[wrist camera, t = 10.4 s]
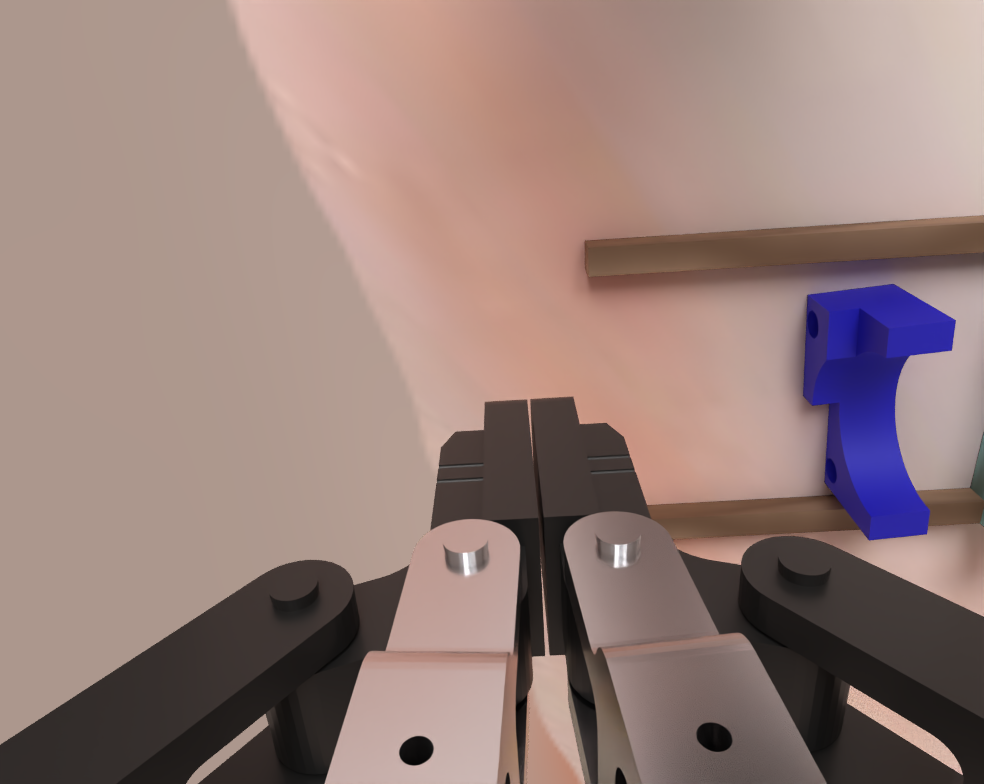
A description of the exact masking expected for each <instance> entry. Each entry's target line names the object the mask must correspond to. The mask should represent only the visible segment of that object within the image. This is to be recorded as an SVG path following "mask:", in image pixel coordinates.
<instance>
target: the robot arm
mask: <svg viewBox="0 0 984 784" xmlns="http://www.w3.org/2000/svg"><path fill="white" fill-rule="evenodd" d="M531 425H532V445H533V456H532V446H531V436H530V425H529V415H528V405H527V400H510V401H493V402H485V416H484V430H478V431H461V432H455V433H454V434H453V435H452V436H451V437H450V438H449V440H448V441H447V442H446V443H445V444H444V445H443V446H442V447H441V453H440V460H439V469H438V476H437V484H436V491H435V499H434V507H433V514H432V522H431V530H430V531H429V532H428V533H426V534H425V535H424V536H423V537H422V538H421V539H420V540H419V541H418V543H417V544H416V546H415V548H414V551H413V554H412V558H411V561H410V564H409V565H408V566H407V567H405V568H403V569H401V570H400V571H397V572H395V573H393V574H391V575H388V576H385V577H382V578H379V579H375V580H371V581H367V582H364V583H361V584H357V585H353V580H352V578H351V576H350V574H349V573H348V572H347V571H346V570H345V569H344V568H342V567H341V566H339V565H337V564H334V563H332V562H327V561H322V560H304V561H297V562H293V563H288V564H285V565H282V566H279V567H277V568H274V569H272V570H270V571H268V572H266V573H265V574H263V575H261V576H260V577H258V578H257V579H255V580H253V581H252V582H251V583H249V584H247V585H246V586H244V587H243V588H241V589H240V590H238V591H236V592H235V593H234V594H232V595H230V596H229V597H227V598H226V599H224V600H223V601H221V602H220V603H218V604H216V605H215V606H213V607H212V608H210V609H209V610H207V611H206V612H204V613H203V614H201V615H200V616H198V617H196V618H195V619H193V620H192V621H190V622H189V623H187V624H186V625H184V626H183V627H181V628H180V629H178V630H177V631H175V632H173V633H172V634H170V635H169V636H167V637H166V638H164V639H163V640H161V641H160V642H158V643H156V644H155V645H153V646H152V647H150V648H149V649H147V650H146V651H144V652H142V653H141V654H139V655H138V656H136V657H135V658H133V659H132V660H130V661H129V662H127V663H126V664H124V665H122V666H121V667H119V668H118V669H116V670H115V671H113V672H112V673H110V674H109V675H107V676H105V677H104V678H102V679H101V680H99V681H98V682H96V683H95V684H93V685H92V686H90V687H89V688H87V689H85V690H84V691H82V692H81V693H79V694H78V695H76V696H75V697H73V698H72V699H70V700H69V701H67V702H66V703H64V704H62V705H61V706H59V707H58V708H56V709H55V710H53V711H52V712H50V713H49V714H47V715H45V716H44V717H42V718H41V719H39V720H38V721H36V722H35V723H33V724H32V725H30V726H28V727H27V728H25V729H24V730H22V731H21V732H19V733H18V734H16V735H15V736H13V737H12V738H10V739H8V740H7V741H5V742H4V743H2V744H1V745H0V784H186V783H187V781H188V780H189V778H190V777H191V776H192V774H193V773H194V772H195V771H196V770H197V769H198V768H199V767H200V766H201V765H202V764H203V763H205V762H206V761H207V760H208V759H209V758H211V757H212V756H213V755H214V754H216V753H217V752H218V751H219V750H221V749H222V748H223V747H224V746H226V745H227V744H228V743H229V742H231V741H232V740H233V739H234V738H236V737H237V736H238V735H239V734H240V733H242V732H243V731H244V730H245V729H247V728H248V727H249V726H250V725H252V724H253V723H254V722H255V721H256V720H258V719H259V718H260V717H261V716H263V715H264V714H265V713H266V717H267V720H268V724H269V726H267V727H266V728H265V729H264V730H263V731H262V732H260V733H259V734H258V735H257V736H255V737H254V738H253V739H252V740H251V741H249V742H248V743H247V744H246V745H244V746H243V747H242V748H241V749H240V750H238V751H237V752H236V753H235V754H234V755H232V756H231V757H230V758H229V759H227V760H226V761H225V762H224V763H223V764H221V765H220V766H219V767H218V768H216V770H214V771H213V772H212V773H210V774H209V775H208V776H207V777H206V778H204V779H203V780H202V781H201V782H200V783H198V784H527V768H528V740H529V714H530V712H529V710H530V703H529V690H530V688H531V685H532V681H533V669H532V657H533V656H545V645H544V623H543V602H542V581H541V568H542V578H543V589H544V599H545V610H546V621H547V631H548V642H549V652H550V655H565V656H566V664H567V675H568V702H569V708H570V713H571V718H572V723H573V727H574V732H575V737H576V742H577V746H578V751H579V756H580V761H581V765H582V770H583V775H584V780H585V784H984V617H983V616H981V615H979V614H977V613H974V612H972V611H970V610H968V609H966V608H964V607H962V606H960V605H957V604H955V603H953V602H951V601H949V600H947V599H945V598H943V597H940V596H938V595H936V594H934V593H932V592H930V591H928V590H926V589H923V588H921V587H919V586H917V585H915V584H913V583H911V582H909V581H906V580H904V579H902V578H900V577H898V576H896V575H894V574H891V573H889V572H887V571H885V570H883V569H881V568H879V567H877V566H874V565H872V564H870V563H868V562H866V561H864V560H862V559H860V558H857V557H855V556H853V555H851V554H849V553H847V552H845V551H843V550H840V549H838V548H836V547H834V546H831V545H829V544H827V543H824V542H821V541H817V540H814V539H809V538H804V537H795V536H781V537H772V538H768V539H764V540H761V541H759V542H757V543H755V544H753V545H752V546H750V547H749V548H748V549H747V550H746V552H745V553H744V555H743V558H742V561H741V565H738V564H731V563H725V562H719V561H712V560H707V559H703V558H699V557H695V556H692V555H689V554H687V553H684V552H682V551H680V550H678V549H677V548H676V546H675V544H674V542H673V540H672V538H671V536H670V534H669V533H668V531H667V530H666V529H665V528H664V527H663V526H661V525H660V524H659V523H657V522H655V521H654V520H652V519H651V516H650V513H649V510H648V507H647V504H646V501H645V499H644V496H643V493H642V490H641V487H640V484H639V481H638V478H637V475H636V472H635V471H634V466H633V463H632V460H631V458H630V454H629V451H628V448H627V445H626V442H625V439H624V437H623V436H622V435H621V434H619V433H618V432H617V431H616V430H614V429H613V428H612V427H611V426H609V425H608V424H607V423H597V424H579V420H578V415H577V411H576V407H575V402H574V398H573V397H559V398H542V399H531ZM540 557H541V559H540ZM850 685H851V686H853V687H854V688H856V689H858V690H859V691H861V692H863V693H864V694H866V695H868V696H869V697H871V698H873V699H874V700H876V701H877V702H879V703H881V704H882V705H884V706H886V707H887V708H889V709H891V710H892V711H894V712H896V713H897V714H899V715H901V716H902V717H904V718H906V719H907V720H909V721H911V722H912V723H914V724H916V725H917V726H919V727H921V728H922V729H924V730H926V731H927V732H929V733H930V734H932V735H933V736H935V737H936V738H938V739H939V740H940V741H941V742H942V743H944V744H945V745H946V746H947V747H948V748H949V750H950V751H951V752H952V753H953V754H954V756H955V757H956V759H957V761H958V762H959V764H960V767H961V769H962V773H963V775H961V774H960V773H958V772H956V771H955V770H953V769H951V768H950V767H948V766H947V765H945V764H943V763H942V762H940V761H939V760H937V759H935V758H934V757H932V756H931V755H929V754H927V753H926V752H924V751H923V750H921V749H919V748H918V747H916V746H915V745H913V744H911V743H910V742H908V741H907V740H905V739H903V738H902V737H900V736H899V735H897V734H895V733H894V732H892V731H890V730H889V729H887V728H886V727H884V726H882V725H881V724H879V723H878V722H876V721H874V720H873V719H871V718H870V717H868V716H866V715H865V714H863V713H862V712H860V711H858V710H857V709H855V708H854V707H852V706H850V705H849V704H847V699H848V693H849V688H850Z"/></svg>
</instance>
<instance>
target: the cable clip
mask: <svg viewBox="0 0 984 784" xmlns="http://www.w3.org/2000/svg"><path fill="white" fill-rule="evenodd" d="M955 322H956V320H954V319H953V318H951V317H949V316H947V315H946V314H944V313H942V312H941V311H939V310H937V309H935V308H934V307H932V306H930V305H929V304H927V303H925V302H924V301H922V300H920V299H918V298H917V297H915V296H913V295H912V294H910V293H908V292H906V291H905V290H903V289H901V288H900V287H898V286H896V285H894V284H889V285H882V286H874V287H866V288H858V289H850V290H842V291H834V292H827V293H819V294H811V295H808V298H807V320H806V343H805V365H804V387H803V396H804V397H805V398H806V399H807V400H808V402H809V403H810V404H811V405H812V406H814V405H822V404H829V416H828V432H827V449H826V465H825V481H824V482H825V484H826V485H827V486H828V488H829V489H830V490H831V491H832V493H833V494H834V495H835V497H836V498H837V499H838V501H839V502H840V503H841V505H842V506H843V507H844V508H845V510H846V511H847V512H848V514H849V515H850V516H851V518H852V519H853V520H854V522H855V523H856V524H857V525H858V527H859V528H860V529H861V531H862V532H863V533H864V535H865V536H866V537H867V539H868V540H877V539H887V538H896V537H905V536H915V535H924V534H927V530H928V523H929V515H930V510H929V509H928V507H927V506H926V505H925V504H924V502H923V501H922V500H921V498H920V497H919V495H918V494H917V492H916V490H915V488H914V487H913V485H912V483H911V480H910V478H909V476H908V474H907V471H906V469H905V466H904V463H903V460H902V456H901V453H900V449H899V444H898V439H897V433H896V425H895V396H896V389H897V383H898V379H899V376H900V373H901V370H902V368H903V366H904V364H905V362H906V360H907V359H908V357H909V356H910V355H919V354H927V353H935V352H943V351H952V345H953V337H954V330H955Z"/></svg>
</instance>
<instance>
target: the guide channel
mask: <svg viewBox="0 0 984 784" xmlns="http://www.w3.org/2000/svg"><path fill="white" fill-rule="evenodd" d="M981 252H984V215H982V216H967V217H951V218H935V219H919V220H904V221H888V222H872V223H857V224H841V225H825V226H810V227H794V228H778V229H763V230H747V231H731V232H715V233H700V234H684V235H668V236H653V237H637V238H621V239H606V240H590V241H585V269H586V272H587V274H588V277H596V276H612V275H628V274H644V273H660V272H676V271H692V270H708V269H725V268H741V267H757V266H773V265H789V264H805V263H821V262H837V261H853V260H869V259H885V258H901V257H917V256H933V255H949V254H965V253H981ZM916 492H917V494H918V495H919V497H920V498H921V500H922V501H923V502H924V504H925V505H926V506H927V507H928V509H929V510H930V515H929V523H928V526H935V525H954V524H973V523H980V524H981V525H983V526H984V434H983V438H982V442H981V446H980V451H979V455H978V459H977V463H976V467H975V471H974V475H973V479H972V484H971V488H961V489H943V490H924V491H916ZM647 507H648V510H649V513H650V516H651V519H652V520H654V521H655V522H657V523H659V524H660V525H661V526H663V527H664V528H665V529H666V530H667V531H668V533H669V534H670V536H671V538H672V539H687V538H706V537H725V536H744V535H763V534H782V533H802V532H821V531H840V530H859V529H860V528H859V527H858V525H857V524H856V523H855V522H854V520H853V519H852V518H851V516H850V515H849V514H848V512H847V511H846V510H845V508H844V507H843V506H842V505H841V503H840V502H839V501H838V499H837V498H836V497H835V495H831V496H812V497H794V498H775V499H756V500H738V501H719V502H700V503H682V504H663V505H647Z"/></svg>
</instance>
